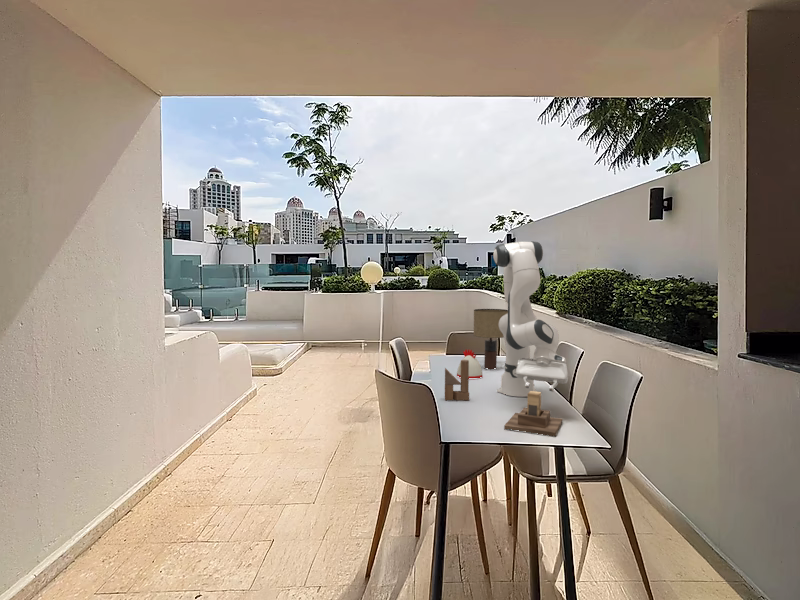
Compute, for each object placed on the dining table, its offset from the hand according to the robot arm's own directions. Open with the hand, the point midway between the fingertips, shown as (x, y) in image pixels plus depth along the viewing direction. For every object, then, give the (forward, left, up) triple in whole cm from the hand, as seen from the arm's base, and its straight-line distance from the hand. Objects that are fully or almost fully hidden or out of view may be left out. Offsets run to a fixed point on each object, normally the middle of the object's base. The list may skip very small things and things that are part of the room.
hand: (538, 388), depth 193 cm
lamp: (-92, -31, -12) cm, 98 cm away
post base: (+11, -1, -12) cm, 16 cm away
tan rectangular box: (+11, -1, -10) cm, 15 cm away
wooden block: (-17, -36, -12) cm, 42 cm away
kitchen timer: (-67, -39, -12) cm, 78 cm away
